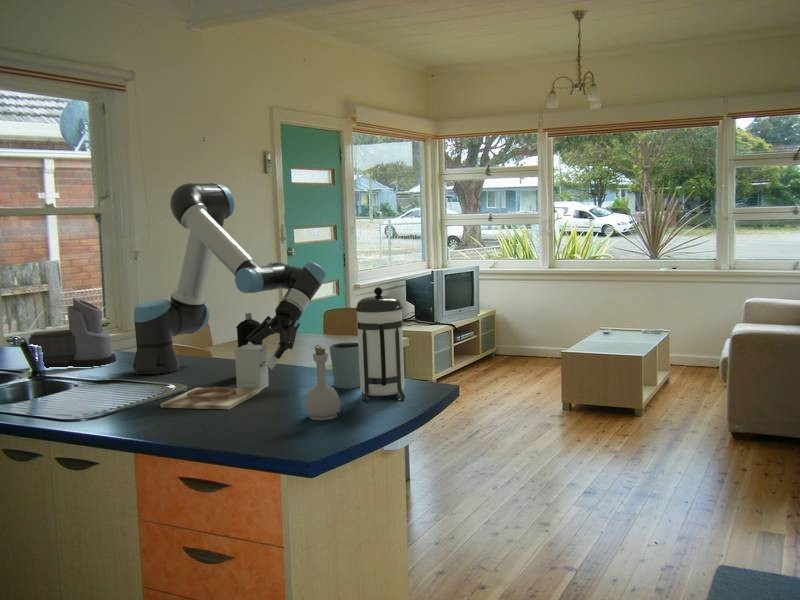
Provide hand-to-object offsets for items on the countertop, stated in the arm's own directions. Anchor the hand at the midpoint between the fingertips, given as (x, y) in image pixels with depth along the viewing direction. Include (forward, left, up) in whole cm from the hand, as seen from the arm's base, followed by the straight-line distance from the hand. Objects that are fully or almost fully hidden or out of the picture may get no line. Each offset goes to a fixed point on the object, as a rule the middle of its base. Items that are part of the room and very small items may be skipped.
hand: (254, 364), depth 234 cm
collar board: (-7, -14, -7) cm, 17 cm away
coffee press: (+41, -8, -8) cm, 43 cm away
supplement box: (-1, 0, -8) cm, 8 cm away
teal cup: (+26, +7, -8) cm, 28 cm away
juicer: (-84, +31, -8) cm, 90 cm away
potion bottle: (+31, -29, -8) cm, 43 cm away
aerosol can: (-10, +19, -8) cm, 23 cm away
